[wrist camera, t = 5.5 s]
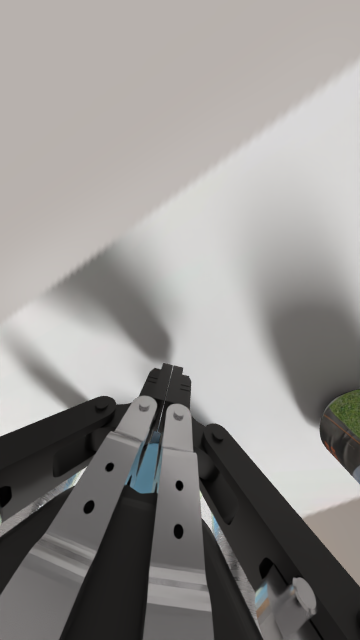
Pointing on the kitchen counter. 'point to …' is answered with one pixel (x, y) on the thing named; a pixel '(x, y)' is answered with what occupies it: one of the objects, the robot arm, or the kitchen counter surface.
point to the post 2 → (235, 569)
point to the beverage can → (343, 431)
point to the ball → (147, 470)
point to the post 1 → (36, 505)
